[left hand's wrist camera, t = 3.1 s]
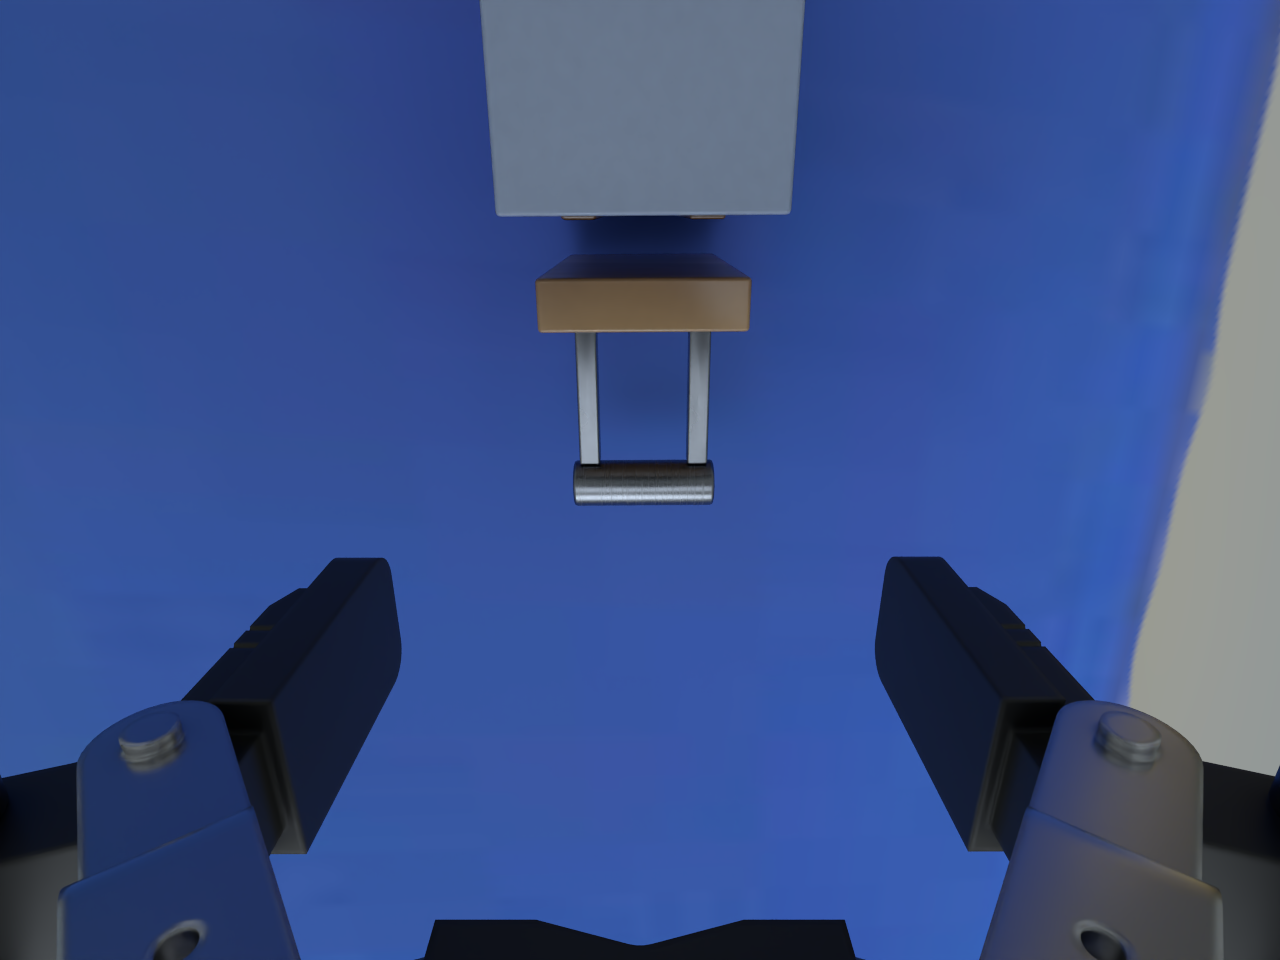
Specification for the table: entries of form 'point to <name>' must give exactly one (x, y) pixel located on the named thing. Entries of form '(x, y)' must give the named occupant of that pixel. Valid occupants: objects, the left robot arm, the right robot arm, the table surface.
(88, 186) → the table surface
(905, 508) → the table surface
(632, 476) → the drawer
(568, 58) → the cabinet
